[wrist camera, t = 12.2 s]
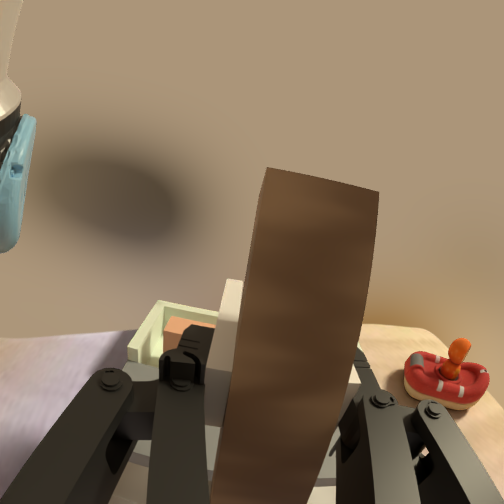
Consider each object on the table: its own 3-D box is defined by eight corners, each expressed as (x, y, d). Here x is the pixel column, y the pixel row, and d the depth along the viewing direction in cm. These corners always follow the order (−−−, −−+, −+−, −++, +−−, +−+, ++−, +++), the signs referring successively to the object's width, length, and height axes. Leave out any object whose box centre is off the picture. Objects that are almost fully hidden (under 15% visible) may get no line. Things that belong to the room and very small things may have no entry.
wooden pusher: (65, 525, 6) (61, 146, 7) (87, 491, 10) (101, 174, 11) (395, 552, 7) (511, 236, 8) (375, 520, 10) (463, 242, 11)
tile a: (163, 330, 23) (171, 315, 26) (162, 373, 25) (169, 357, 27) (222, 342, 23) (225, 326, 26) (215, 384, 25) (219, 368, 27)
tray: (130, 379, 24) (127, 346, 22) (157, 329, 32) (158, 299, 31) (360, 412, 24) (377, 383, 23) (342, 358, 33) (353, 331, 32)
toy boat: (477, 420, 22) (511, 368, 19) (396, 400, 26) (426, 343, 24) (469, 384, 28) (495, 336, 26) (399, 364, 33) (422, 313, 31)
